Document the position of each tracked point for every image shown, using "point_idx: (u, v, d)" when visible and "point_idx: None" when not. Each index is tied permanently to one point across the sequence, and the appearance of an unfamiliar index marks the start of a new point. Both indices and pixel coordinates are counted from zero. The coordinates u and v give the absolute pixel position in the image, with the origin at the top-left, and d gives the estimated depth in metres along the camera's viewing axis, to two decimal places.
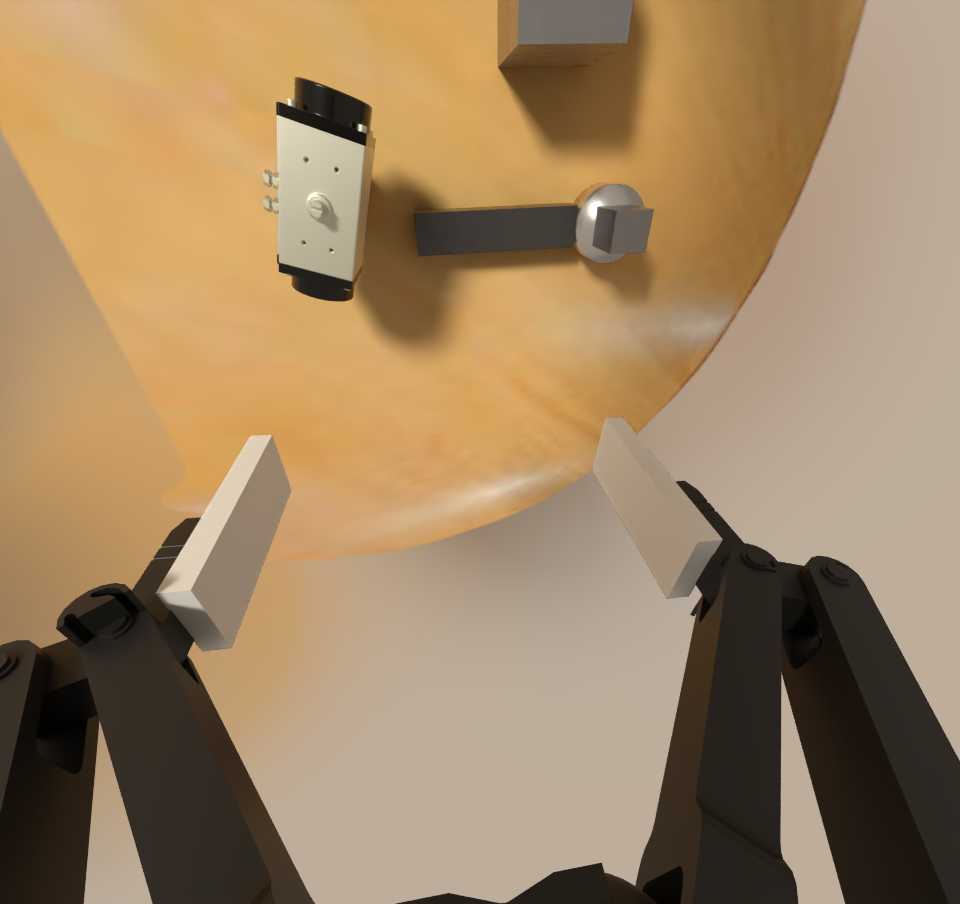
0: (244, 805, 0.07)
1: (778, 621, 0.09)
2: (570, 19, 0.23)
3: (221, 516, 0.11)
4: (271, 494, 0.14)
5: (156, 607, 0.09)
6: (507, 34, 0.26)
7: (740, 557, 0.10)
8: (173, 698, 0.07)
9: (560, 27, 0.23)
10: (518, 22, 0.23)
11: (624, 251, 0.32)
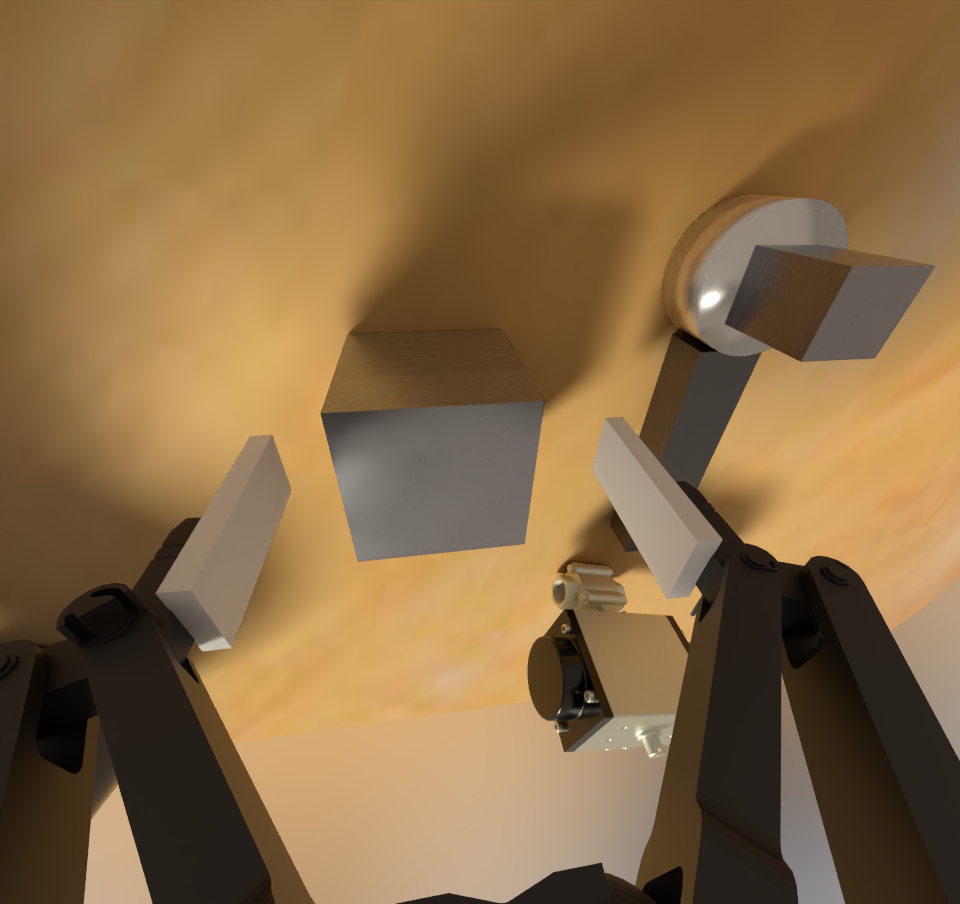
0: (244, 805, 0.07)
1: (778, 621, 0.09)
2: (506, 490, 0.15)
3: (221, 516, 0.11)
4: (271, 494, 0.14)
5: (156, 607, 0.09)
6: None
7: (740, 557, 0.10)
8: (173, 698, 0.07)
9: (513, 501, 0.15)
10: (503, 544, 0.17)
11: (893, 324, 0.13)
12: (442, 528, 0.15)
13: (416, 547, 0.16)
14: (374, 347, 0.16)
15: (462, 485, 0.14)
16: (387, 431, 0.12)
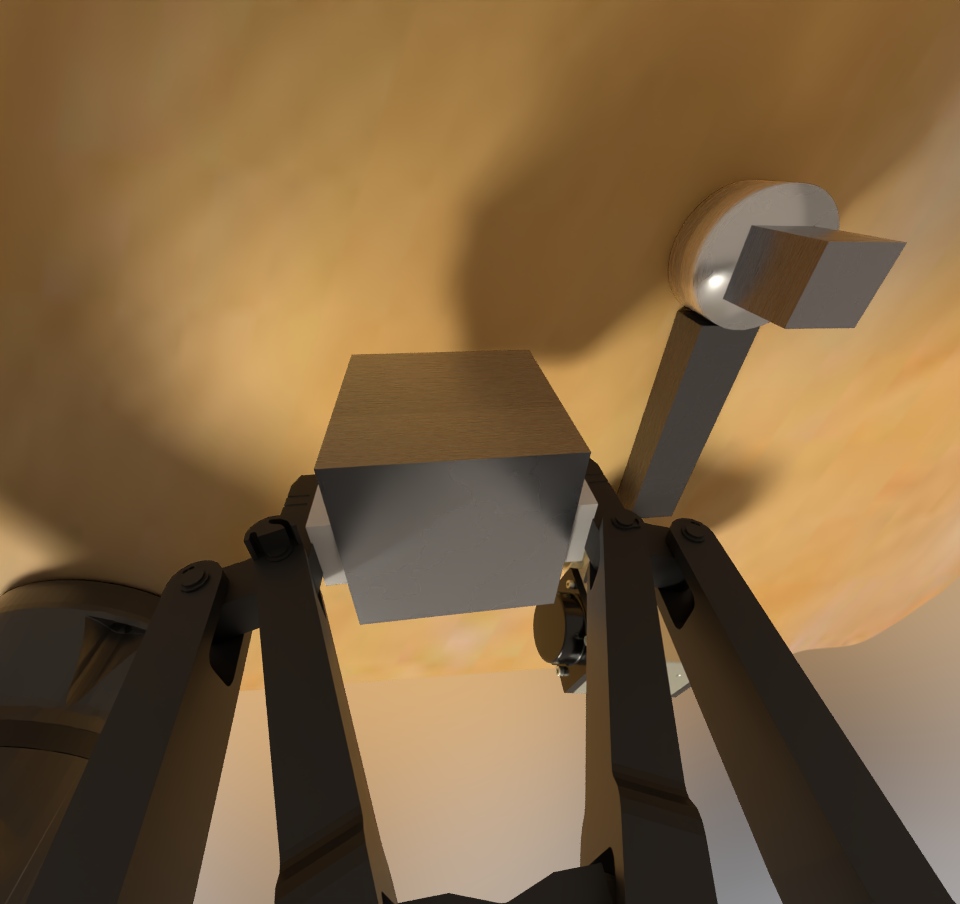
0: (349, 741, 0.07)
1: (649, 573, 0.10)
2: (537, 549, 0.12)
3: None
4: None
5: None
6: None
7: (611, 522, 0.11)
8: (311, 626, 0.09)
9: (544, 560, 0.13)
10: (529, 603, 0.14)
11: (870, 296, 0.15)
12: (459, 589, 0.13)
13: (428, 609, 0.14)
14: (382, 373, 0.14)
15: (485, 544, 0.12)
16: (396, 488, 0.10)
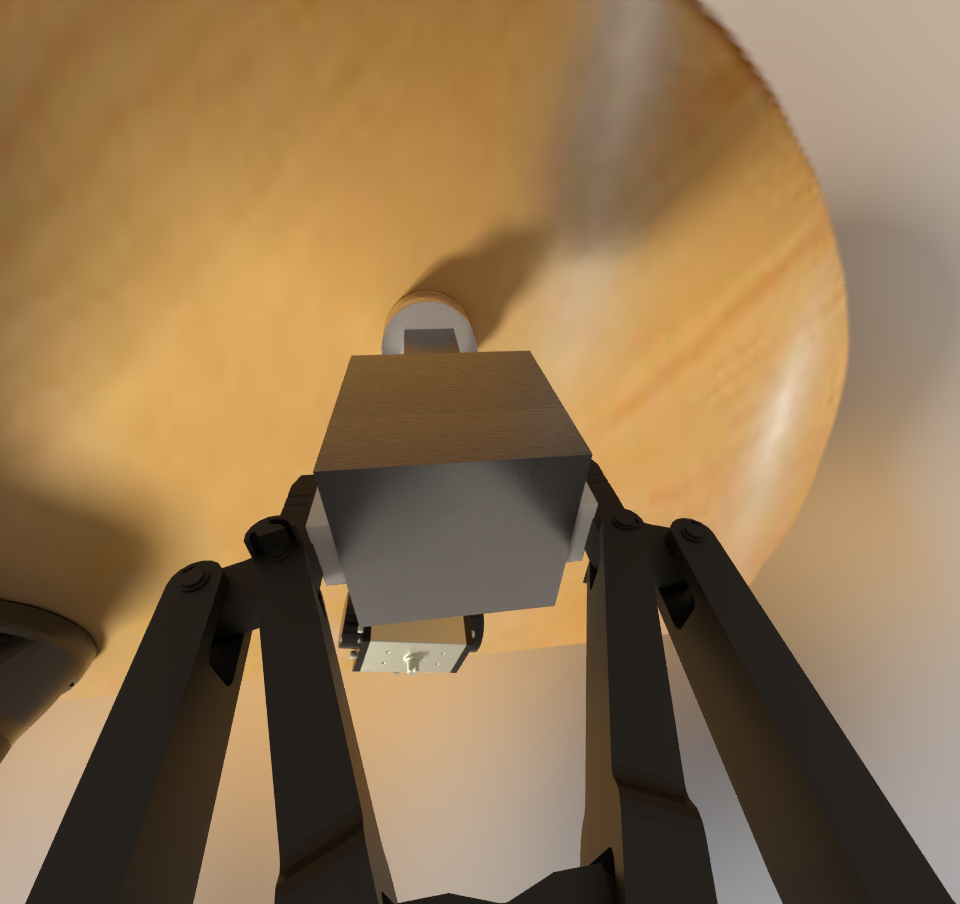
0: (349, 741, 0.07)
1: (649, 573, 0.10)
2: (537, 552, 0.12)
3: None
4: None
5: None
6: None
7: (611, 522, 0.11)
8: (311, 626, 0.09)
9: (545, 562, 0.13)
10: (530, 606, 0.14)
11: None
12: (460, 592, 0.13)
13: (428, 611, 0.13)
14: (381, 374, 0.14)
15: (486, 547, 0.12)
16: (396, 491, 0.10)
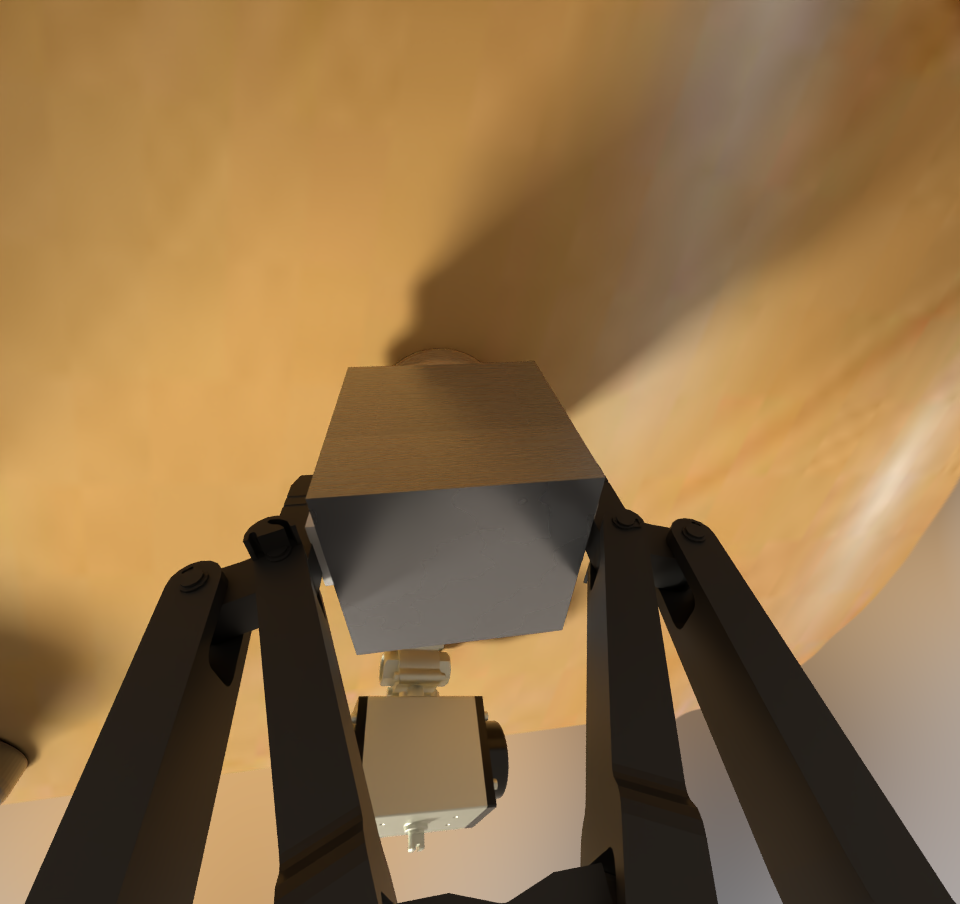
0: (348, 741, 0.07)
1: (650, 573, 0.10)
2: (545, 577, 0.12)
3: None
4: None
5: None
6: None
7: (611, 522, 0.11)
8: (310, 626, 0.09)
9: (553, 587, 0.12)
10: (536, 630, 0.14)
11: None
12: (462, 618, 0.12)
13: (429, 638, 0.13)
14: (380, 388, 0.13)
15: (490, 573, 0.11)
16: (395, 517, 0.09)
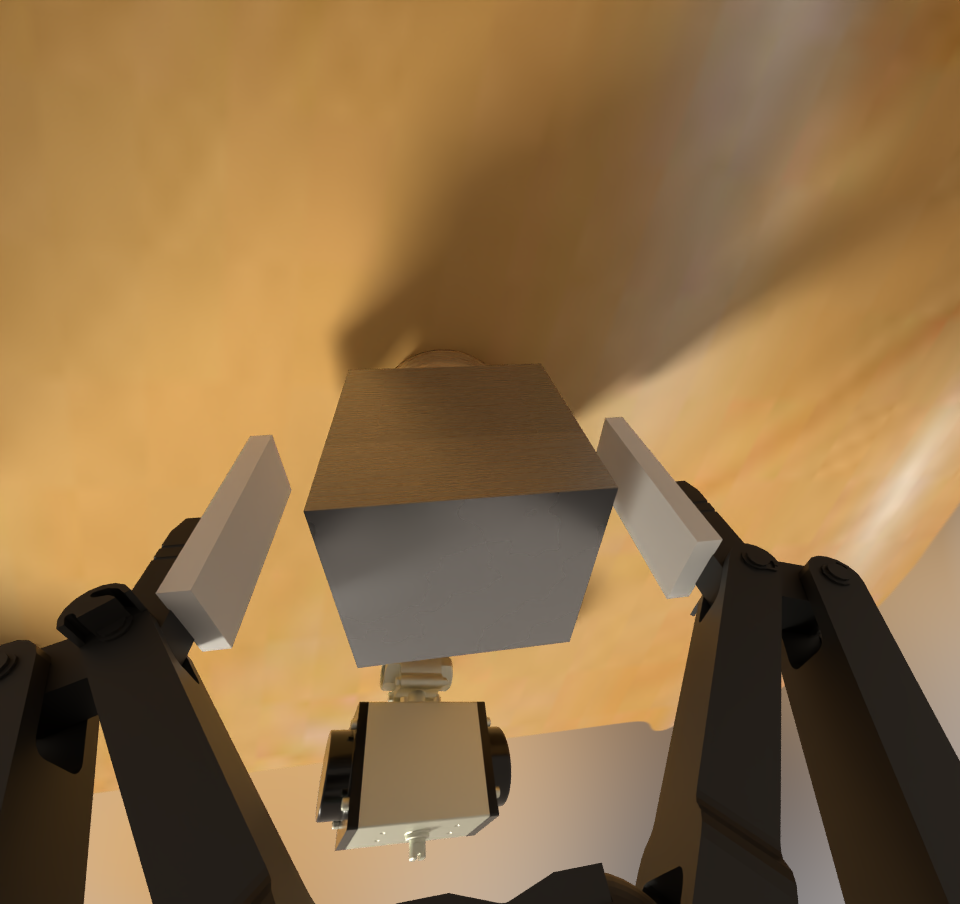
0: (244, 805, 0.07)
1: (778, 621, 0.09)
2: (553, 589, 0.11)
3: (221, 516, 0.11)
4: (271, 494, 0.14)
5: (156, 607, 0.09)
6: None
7: (740, 557, 0.10)
8: (173, 698, 0.07)
9: (561, 599, 0.12)
10: (542, 642, 0.13)
11: None
12: (467, 630, 0.12)
13: (432, 650, 0.12)
14: (381, 392, 0.12)
15: (497, 585, 0.11)
16: (398, 529, 0.09)
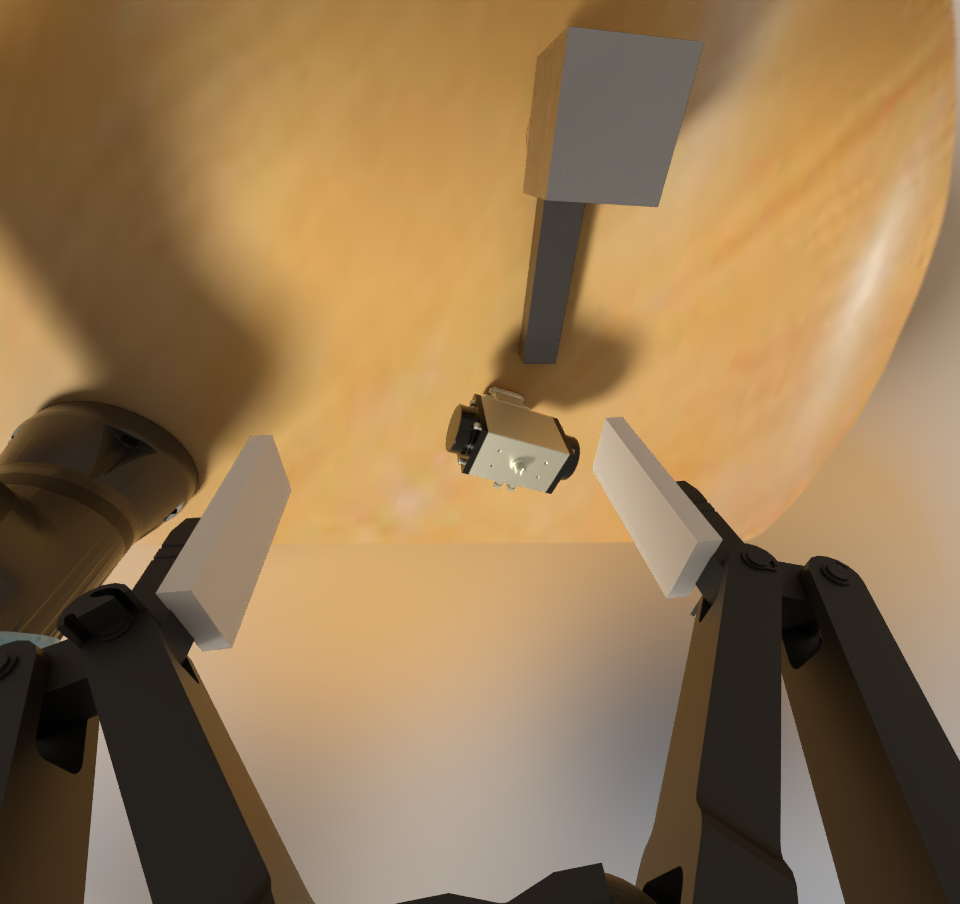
0: (244, 805, 0.07)
1: (778, 621, 0.09)
2: (659, 138, 0.21)
3: (221, 516, 0.11)
4: (271, 494, 0.14)
5: (156, 607, 0.09)
6: None
7: (740, 557, 0.10)
8: (173, 698, 0.07)
9: (661, 151, 0.22)
10: (643, 205, 0.23)
11: None
12: (609, 173, 0.22)
13: (586, 192, 0.23)
14: None
15: (633, 125, 0.21)
16: (602, 54, 0.19)
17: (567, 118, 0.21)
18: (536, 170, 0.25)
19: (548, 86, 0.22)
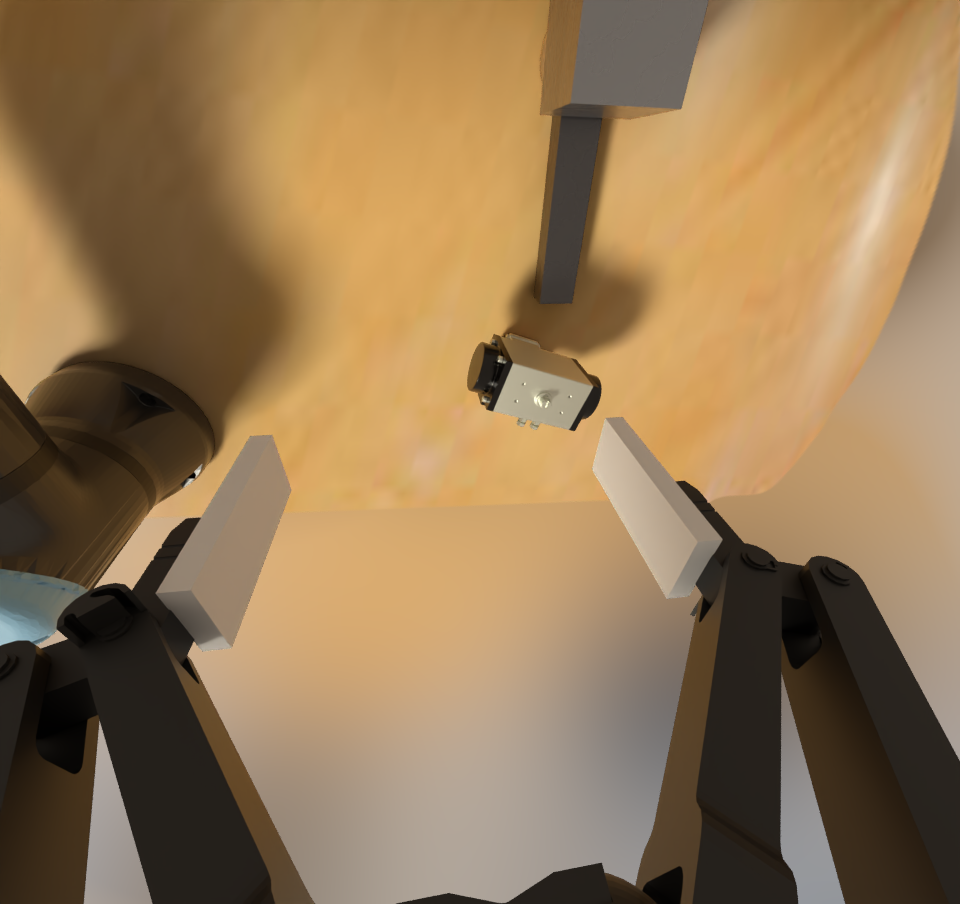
0: (244, 805, 0.07)
1: (778, 621, 0.09)
2: (683, 31, 0.22)
3: (221, 516, 0.11)
4: (271, 494, 0.14)
5: (156, 607, 0.09)
6: (640, 113, 0.26)
7: (740, 557, 0.10)
8: (173, 698, 0.07)
9: (685, 46, 0.22)
10: (666, 107, 0.23)
11: None
12: (633, 72, 0.22)
13: (611, 93, 0.23)
14: None
15: (657, 17, 0.21)
16: None
17: (592, 10, 0.21)
18: (556, 81, 0.25)
19: None
